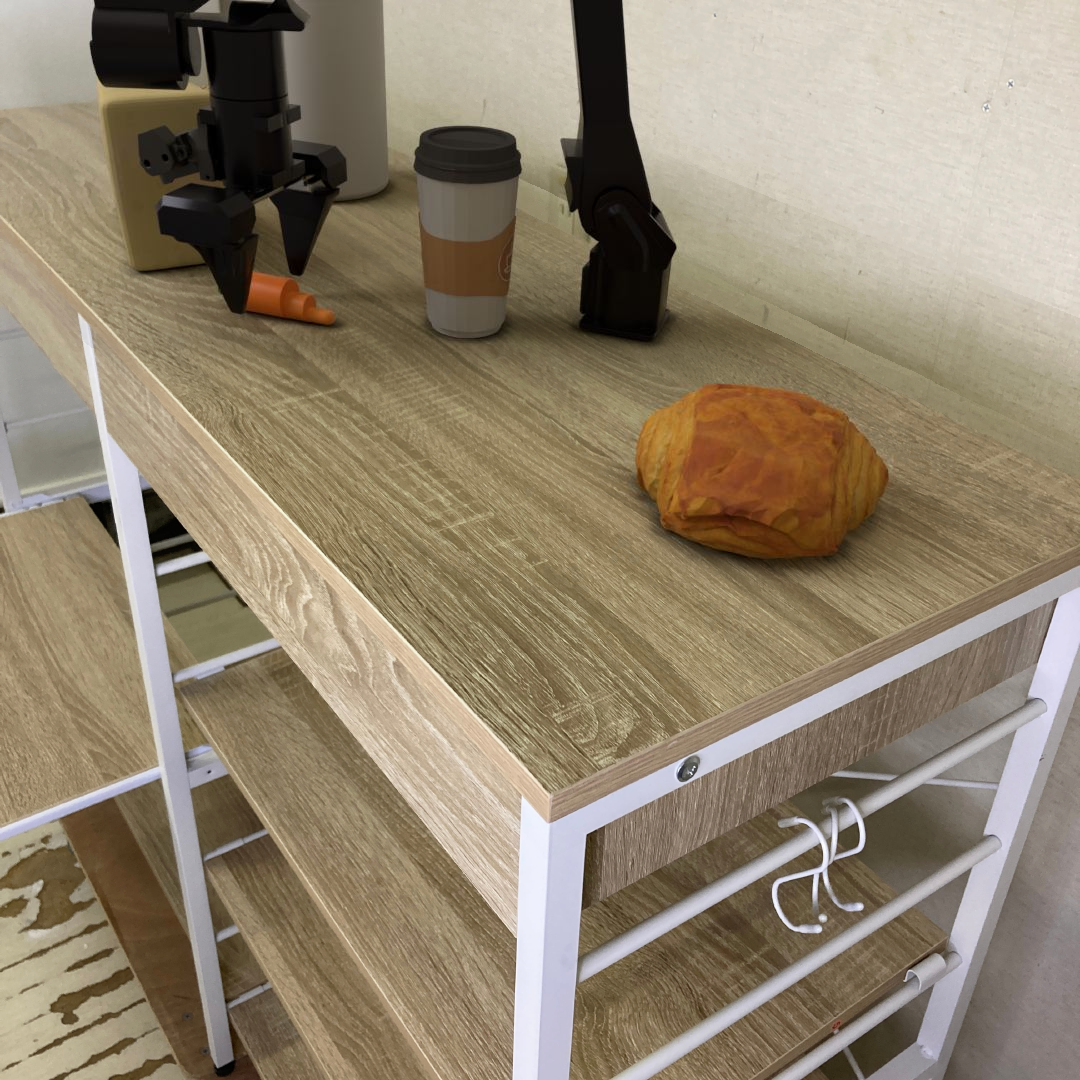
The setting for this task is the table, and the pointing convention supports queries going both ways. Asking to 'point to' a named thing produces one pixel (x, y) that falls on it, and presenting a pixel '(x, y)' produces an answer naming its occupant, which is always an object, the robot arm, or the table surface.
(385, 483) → the table surface
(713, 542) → the croissant
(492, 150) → the coffee cup
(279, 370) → the table surface
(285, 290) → the carrot
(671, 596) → the table surface
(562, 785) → the table surface
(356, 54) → the cylinder vase
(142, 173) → the cheese
